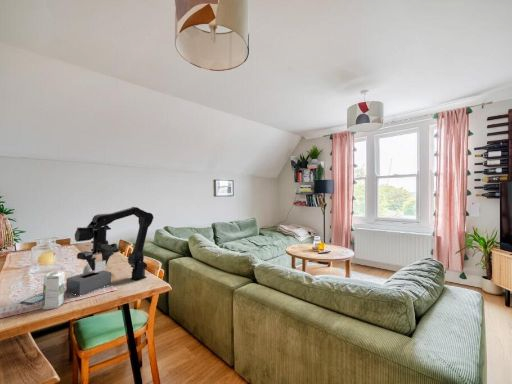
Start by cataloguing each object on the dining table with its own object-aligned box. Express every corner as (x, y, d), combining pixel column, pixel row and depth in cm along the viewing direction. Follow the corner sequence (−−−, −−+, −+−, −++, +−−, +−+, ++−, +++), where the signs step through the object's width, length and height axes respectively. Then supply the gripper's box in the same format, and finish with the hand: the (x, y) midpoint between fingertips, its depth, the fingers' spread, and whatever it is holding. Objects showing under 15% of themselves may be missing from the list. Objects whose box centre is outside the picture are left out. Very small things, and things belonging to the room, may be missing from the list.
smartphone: (18, 302, 107) (51, 288, 122) (18, 304, 107) (51, 290, 122) (32, 304, 106) (63, 290, 121) (32, 306, 106) (63, 291, 121)
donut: (86, 282, 133) (86, 264, 133) (81, 281, 134) (81, 263, 134) (100, 276, 143) (101, 259, 143) (96, 275, 144) (96, 259, 144)
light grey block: (102, 268, 127) (102, 259, 127) (105, 269, 126) (105, 260, 126) (91, 272, 121) (92, 262, 121) (95, 272, 120) (95, 262, 120)
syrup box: (48, 304, 107) (49, 272, 107) (64, 302, 109) (65, 271, 109) (41, 310, 102) (42, 276, 102) (58, 308, 104) (59, 275, 104)
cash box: (97, 281, 135) (98, 269, 135) (110, 285, 130) (111, 272, 130) (66, 291, 120) (66, 278, 120) (79, 296, 116) (79, 282, 116)
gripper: (91, 243, 112) (90, 276, 112) (126, 237, 129) (125, 266, 129) (76, 241, 116) (75, 273, 116) (112, 235, 133) (111, 263, 133)
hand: (98, 268), depth 124 cm, fingers closed on light grey block, 5 cm apart
